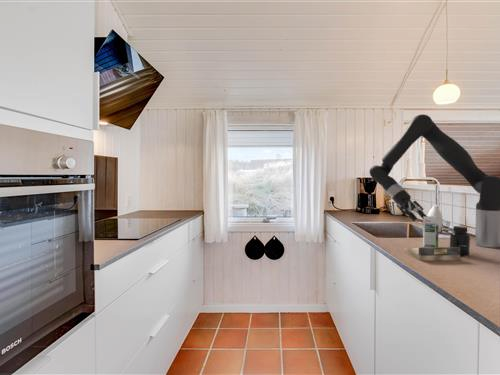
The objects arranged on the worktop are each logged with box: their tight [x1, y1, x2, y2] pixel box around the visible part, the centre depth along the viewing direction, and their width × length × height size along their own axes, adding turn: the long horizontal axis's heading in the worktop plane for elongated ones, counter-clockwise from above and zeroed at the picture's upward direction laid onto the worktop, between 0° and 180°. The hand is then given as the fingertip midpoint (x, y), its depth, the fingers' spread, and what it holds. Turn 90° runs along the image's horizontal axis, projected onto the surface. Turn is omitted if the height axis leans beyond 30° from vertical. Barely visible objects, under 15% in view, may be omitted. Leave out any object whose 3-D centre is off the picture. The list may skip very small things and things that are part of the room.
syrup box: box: [422, 215, 439, 248], centre depth 134 cm, size 6×6×14 cm
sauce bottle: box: [427, 203, 444, 232], centre depth 167 cm, size 8×8×18 cm
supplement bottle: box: [449, 225, 471, 257], centre depth 122 cm, size 7×7×12 cm
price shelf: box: [403, 246, 461, 262], centre depth 120 cm, size 16×12×5 cm
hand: (420, 219), depth 138 cm, fingers open, 8 cm apart
